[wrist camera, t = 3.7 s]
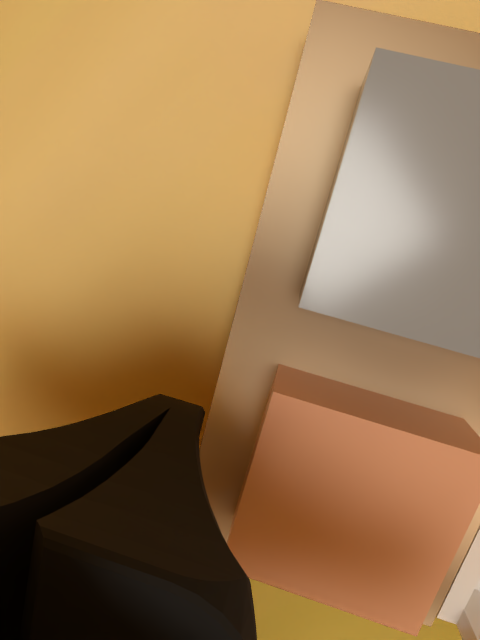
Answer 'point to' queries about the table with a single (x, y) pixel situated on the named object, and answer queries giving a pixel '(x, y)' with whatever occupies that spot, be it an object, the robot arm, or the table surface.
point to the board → (294, 254)
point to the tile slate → (405, 207)
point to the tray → (465, 595)
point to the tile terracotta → (355, 498)
